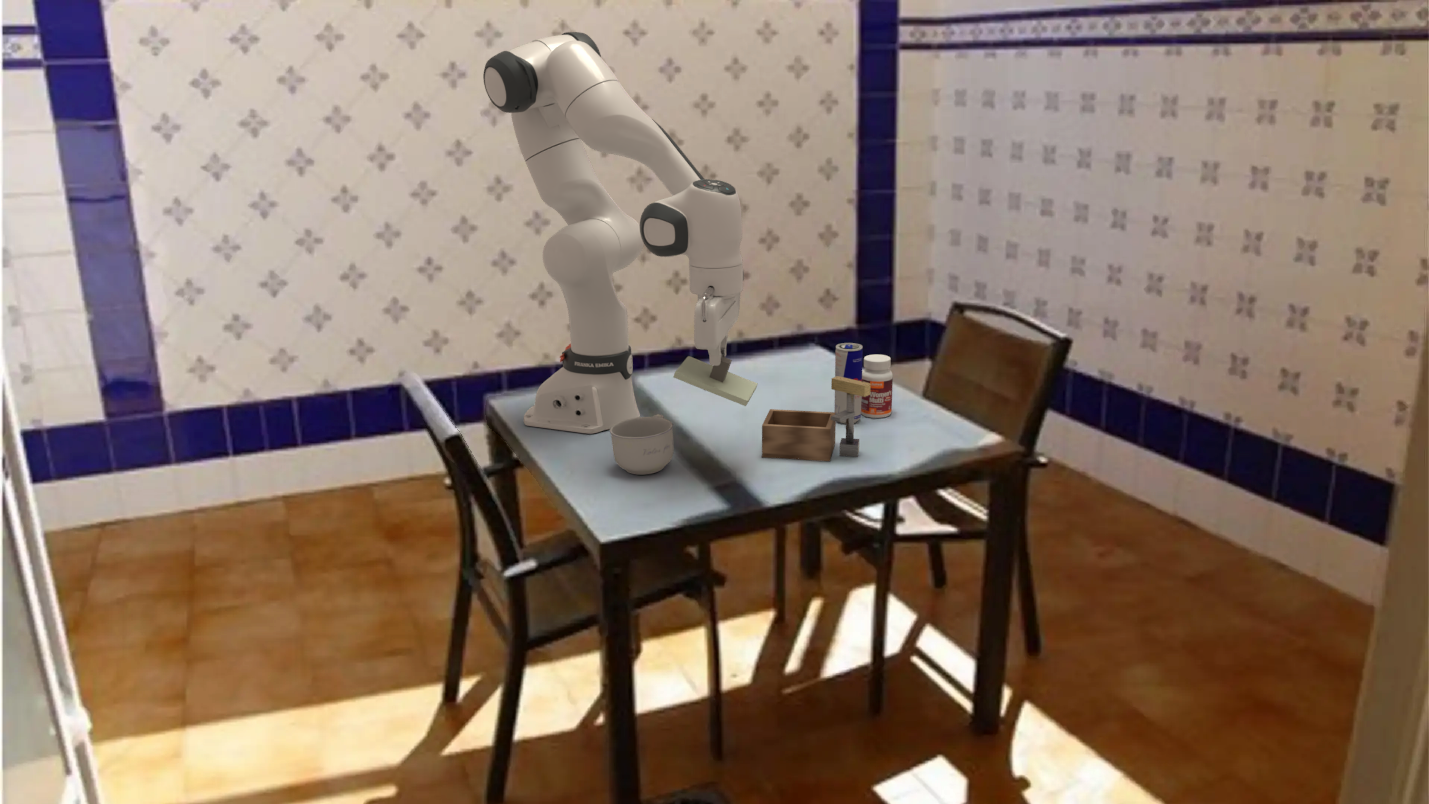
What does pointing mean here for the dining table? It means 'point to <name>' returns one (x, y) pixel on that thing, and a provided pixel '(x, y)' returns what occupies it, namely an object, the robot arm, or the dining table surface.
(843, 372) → the beverage can
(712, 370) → the lid
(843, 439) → the key socket
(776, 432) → the box
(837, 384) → the key
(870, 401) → the pill bottle
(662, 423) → the teacup
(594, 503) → the dining table surface
